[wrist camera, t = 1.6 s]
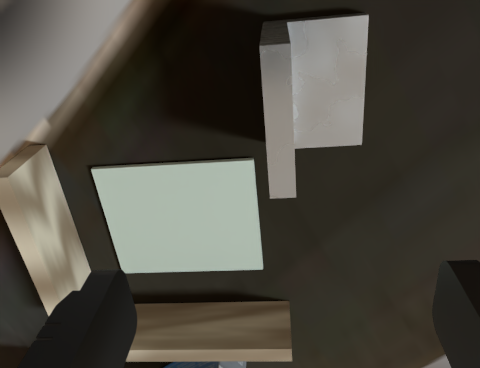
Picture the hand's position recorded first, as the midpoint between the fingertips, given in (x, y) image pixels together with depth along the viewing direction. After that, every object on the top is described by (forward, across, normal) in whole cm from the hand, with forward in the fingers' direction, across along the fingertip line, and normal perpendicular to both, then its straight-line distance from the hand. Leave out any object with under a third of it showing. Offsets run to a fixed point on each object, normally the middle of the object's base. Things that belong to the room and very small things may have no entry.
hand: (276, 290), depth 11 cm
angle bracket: (+19, -3, 0) cm, 19 cm away
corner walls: (+19, +9, +12) cm, 24 cm away
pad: (+18, +8, +10) cm, 22 cm away
